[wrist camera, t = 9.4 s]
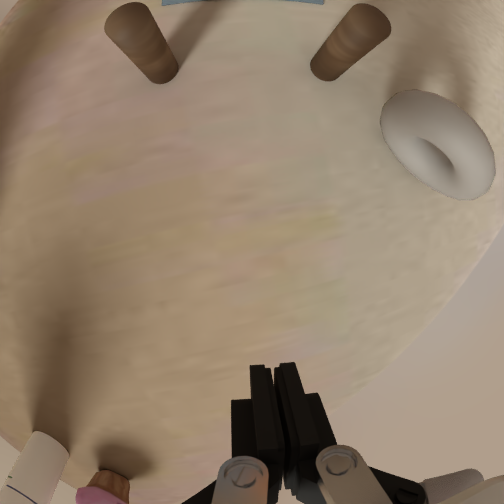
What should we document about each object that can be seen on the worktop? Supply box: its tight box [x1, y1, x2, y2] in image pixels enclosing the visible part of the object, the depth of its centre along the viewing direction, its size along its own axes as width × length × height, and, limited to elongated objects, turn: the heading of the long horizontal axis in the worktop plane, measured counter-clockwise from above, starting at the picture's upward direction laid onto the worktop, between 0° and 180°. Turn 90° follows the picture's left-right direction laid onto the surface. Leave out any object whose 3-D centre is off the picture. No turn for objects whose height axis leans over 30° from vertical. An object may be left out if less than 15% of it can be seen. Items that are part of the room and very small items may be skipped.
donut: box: [380, 90, 496, 200], centre depth 17 cm, size 10×4×10 cm, turn 51°
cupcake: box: [76, 470, 130, 504], centre depth 27 cm, size 9×9×10 cm
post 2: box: [310, 4, 391, 81], centre depth 15 cm, size 3×3×9 cm
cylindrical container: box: [0, 431, 69, 504], centre depth 18 cm, size 7×7×25 cm
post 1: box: [104, 2, 178, 84], centre depth 15 cm, size 3×3×9 cm
